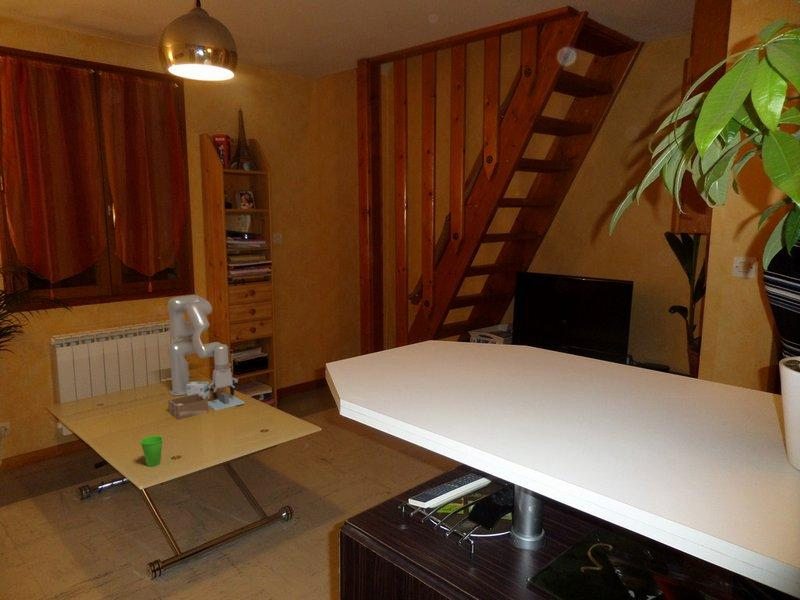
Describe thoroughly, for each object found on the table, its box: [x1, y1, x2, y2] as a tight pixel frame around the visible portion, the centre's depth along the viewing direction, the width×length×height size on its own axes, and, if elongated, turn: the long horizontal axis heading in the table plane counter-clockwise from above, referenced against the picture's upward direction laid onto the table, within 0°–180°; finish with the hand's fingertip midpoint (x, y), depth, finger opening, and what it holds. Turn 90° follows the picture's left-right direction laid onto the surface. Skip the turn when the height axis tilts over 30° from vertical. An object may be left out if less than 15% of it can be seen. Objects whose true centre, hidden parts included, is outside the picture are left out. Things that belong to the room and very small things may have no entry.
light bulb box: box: [186, 381, 211, 401], centre depth 314 cm, size 11×7×11 cm, turn 84°
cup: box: [139, 435, 164, 468], centre depth 233 cm, size 9×9×11 cm
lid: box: [208, 391, 245, 411], centre depth 307 cm, size 15×17×7 cm
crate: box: [167, 394, 210, 421], centre depth 293 cm, size 14×16×8 cm
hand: (223, 396), depth 307 cm, fingers open, 9 cm apart
